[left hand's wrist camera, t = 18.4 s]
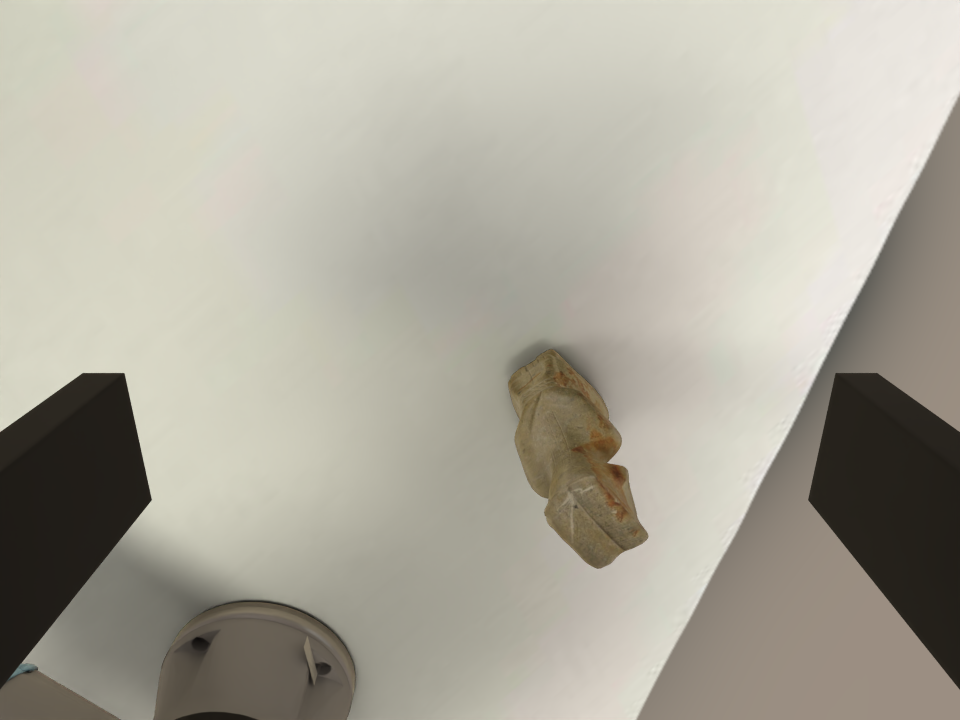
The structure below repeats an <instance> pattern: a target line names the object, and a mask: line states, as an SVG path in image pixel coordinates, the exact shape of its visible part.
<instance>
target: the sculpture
mask: <svg viewBox="0 0 960 720" xmlns="http://www.w3.org/2000/svg"><path fill="white" fill-rule="evenodd" d="M508 387H509V392H510V396H511V399H512V403H513V406H514V408H515V411H516V413H517V415H518V417H519V419H520V421H519V424H518V427H517V430H516V433H515V444H516V448H517V451H518V454H519V457H520V459H521V462H522V465H523V468H524V471H525V474H526V477H527V479H528V482H529V484H530V485H531V487H532V488H533V490H534V491H535V492H536V493H537V494H539V495H540V496H542V497H544V498H549V499H548V504H547V506H546V508H545V511H544V514H545V516H546V519H547V522H548V524H549V526H551V527H552V528H553V529H554V530H555V531H556V532H557V533H558V535H559V536H560V537H561V538H562V539H563V540H564V541H565V542H566V543H567V544H568V545H569V546H570V547H571V548H572V549H573V550H574V551H575V552H576V553H577V554H578V555H579V556H580V557H581V558H582V559H583V560H584V561H585V562H586V563H588V564H589V565H591V566H593V567H595V568H597V569H600V568H602V567H605V566H607V565H609V564H611V563H612V562H613V561H614V559H615V558H616V557H617V556H618V555H619V554H621V553H622V552H624V551H627V550H629V549H632V548H634V547H636V546H638V545H640V544H642V543H644V542H645V541H646V540H647V539H648V533H647V532H646V530H645V529H644V528H643V526H642V525H641V524H640V522H639V520H638V518H637V513H636V509H635V505H634V501H633V497H632V494H631V490H630V485H629V475H628V470H627V469H626V468H625V467H623V466H620V465H614V464H608V463H607V462H608V461H609V460H610V459H611V458H612V457H613V456H614V455H615V454H616V453H617V451H618V450H619V448H620V446H621V443H622V438H621V435H620V433H619V432H618V431H617V429H616V428H615V427H614V426H613V425H612V424H611V422H610V421H609V414H608V409H607V407H606V405H605V403H604V401H603V400H602V398H601V396H600V395H599V394H598V393H597V391H596V390H595V389H594V388H593V387H592V386H591V385H590V384H589V383H588V382H587V381H586V380H585V379H584V378H583V377H582V376H580V375H579V374H578V373H577V372H576V371H575V370H574V369H573V368H572V367H571V366H570V365H569V364H568V363H567V362H566V361H565V360H564V359H563V358H562V357H561V356H560V355H559V354H558V353H557V352H556V351H554V350H553V349H550V350H547V351H546V352H544V353H542V354H540V355H539V356H538V357H537V358H536V360H534V361H533V362H531V363H530V364H528V365H527V366H525V367H521V368H520V369H519V370H518V371H517V372H515V373H514V374H513V375H512V376H511V379H510V380H509V382H508Z"/></svg>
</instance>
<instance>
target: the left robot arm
mask: <svg viewBox="0 0 960 720" xmlns="http://www.w3.org/2000/svg"><path fill="white" fill-rule="evenodd" d="M151 500H152V499H151V494H150V490H149V485H148V480H147V476H146V471H145V466H144V462H143V457H142V453H141V448H140V443H139V439H138V434H137V429H136V425H135V420H134V416H133V411H132V406H131V402H130V397H129V392H128V388H127V383H126V378H125V374H124V373H82V374H81V375H80V376H78V377H77V378H75V379H74V380H73V381H71V382H70V383H68V384H67V385H66V386H64V387H63V388H61V389H60V390H59V391H57V392H56V393H54V394H53V395H52V396H50V397H49V398H47V399H46V400H45V401H43V402H42V403H40V404H39V405H38V406H36V407H35V408H33V409H32V410H31V411H29V412H28V413H26V414H25V415H24V416H22V417H21V418H19V419H18V420H17V421H15V422H14V423H12V424H11V425H10V426H8V427H7V428H5V429H4V430H3V431H1V432H0V720H120V719H119V718H117V717H115V716H114V715H112V714H110V713H108V712H107V711H105V710H103V709H102V708H100V707H98V706H97V705H95V704H93V703H91V702H90V701H88V700H86V699H85V698H83V697H81V696H80V695H78V694H76V693H75V692H73V691H71V690H69V689H68V688H66V687H64V686H63V685H61V684H59V683H58V682H56V681H54V680H52V679H51V678H49V677H47V676H46V675H44V674H42V673H41V672H39V671H38V667H37V666H35V665H33V664H22V662H23V660H24V659H25V658H26V657H27V655H28V654H29V653H30V652H31V650H32V649H33V648H34V647H35V645H36V644H37V643H38V642H39V640H40V639H41V638H42V637H43V635H44V634H45V633H46V632H47V630H48V629H49V628H50V627H51V625H52V624H53V623H54V622H55V620H56V619H57V618H58V617H59V615H60V614H61V613H62V612H63V610H64V609H65V608H66V607H67V605H68V604H69V603H70V602H71V600H72V599H73V598H74V597H75V595H76V594H77V593H78V592H79V590H80V589H81V588H82V587H83V585H84V584H85V583H86V582H87V580H88V579H89V578H90V577H91V575H92V574H93V573H94V572H95V570H96V569H97V568H98V567H99V565H100V564H101V563H102V562H103V560H104V559H105V558H106V557H107V555H108V554H109V553H110V552H111V550H112V549H113V548H114V547H115V545H116V544H117V543H118V542H119V540H120V539H121V538H122V537H123V535H124V534H125V533H126V532H127V530H128V529H129V528H130V527H131V525H132V524H133V523H134V522H135V520H136V519H137V518H138V517H139V515H140V514H141V513H142V512H143V510H144V509H145V508H146V507H147V505H148V504H149V503H150V502H151ZM808 500H809V502H810V503H811V504H812V505H813V507H814V508H815V509H816V510H817V512H818V513H819V514H820V515H821V517H822V518H823V519H824V520H825V522H826V523H827V524H828V525H829V527H830V528H831V529H832V530H833V532H834V533H835V534H836V535H837V537H838V538H839V539H840V540H841V542H842V543H843V544H844V545H845V547H846V548H847V549H848V550H849V552H850V553H851V554H852V555H853V557H854V558H855V559H856V560H857V562H858V563H859V564H860V565H861V567H862V568H863V569H864V570H865V572H866V573H867V574H868V575H869V577H870V578H871V579H872V580H873V582H874V583H875V584H876V585H877V587H878V588H879V589H880V590H881V592H882V593H883V594H884V595H885V597H886V598H887V599H888V600H889V602H890V603H891V604H892V605H893V607H894V608H895V609H896V610H897V612H898V613H899V614H900V615H901V617H902V618H903V619H904V620H905V622H906V623H907V624H908V625H909V627H910V628H911V629H912V630H913V632H914V633H915V634H916V635H917V637H918V638H919V639H920V640H921V642H922V643H923V644H924V645H925V647H926V648H927V649H928V650H929V652H930V653H931V654H932V655H933V657H934V658H935V659H936V660H937V662H938V663H939V664H940V665H941V667H942V668H943V669H944V670H945V672H946V673H947V674H948V675H949V677H950V678H951V679H952V680H953V682H954V683H955V684H956V685H957V687H958V688H959V689H960V432H959V431H957V430H956V429H955V428H953V427H952V426H950V425H949V424H948V423H946V422H945V421H943V420H942V419H941V418H939V417H938V416H936V415H935V414H934V413H932V412H931V411H929V410H928V409H927V408H925V407H924V406H922V405H921V404H920V403H918V402H917V401H915V400H914V399H913V398H911V397H910V396H908V395H907V394H906V393H904V392H903V391H901V390H900V389H898V388H897V387H896V386H894V385H893V384H892V383H890V382H889V381H887V380H886V379H885V378H883V377H882V376H880V375H879V374H878V373H836V374H835V378H834V383H833V388H832V392H831V397H830V402H829V406H828V411H827V416H826V420H825V425H824V429H823V434H822V439H821V443H820V448H819V453H818V457H817V462H816V467H815V471H814V476H813V480H812V485H811V490H810V495H809V499H808ZM354 689H355V671H354V666H353V663H352V660H351V657H350V655H349V653H348V651H347V650H346V648H345V646H344V645H343V644H342V642H341V641H340V640H339V639H338V637H337V636H336V635H335V634H334V633H333V632H332V631H330V630H329V629H328V628H327V627H326V626H324V625H323V624H322V623H320V622H319V621H317V620H315V619H314V618H312V617H310V616H308V615H306V614H304V613H302V612H300V611H297V610H295V609H292V608H289V607H285V606H281V605H277V604H272V603H264V602H238V603H231V604H226V605H222V606H218V607H215V608H212V609H210V610H208V611H205V612H203V613H202V614H200V615H198V616H196V617H195V618H194V619H192V620H191V621H190V622H189V623H187V624H186V625H185V626H184V627H183V629H182V630H181V631H180V632H179V634H178V635H177V637H176V638H175V640H174V642H173V644H172V646H171V647H170V649H169V651H168V653H167V655H166V657H165V659H164V661H163V664H162V668H161V673H160V678H159V686H158V693H157V700H156V707H155V714H154V720H346V719H347V717H348V714H349V712H350V708H351V703H352V698H353V694H354Z"/></svg>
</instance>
